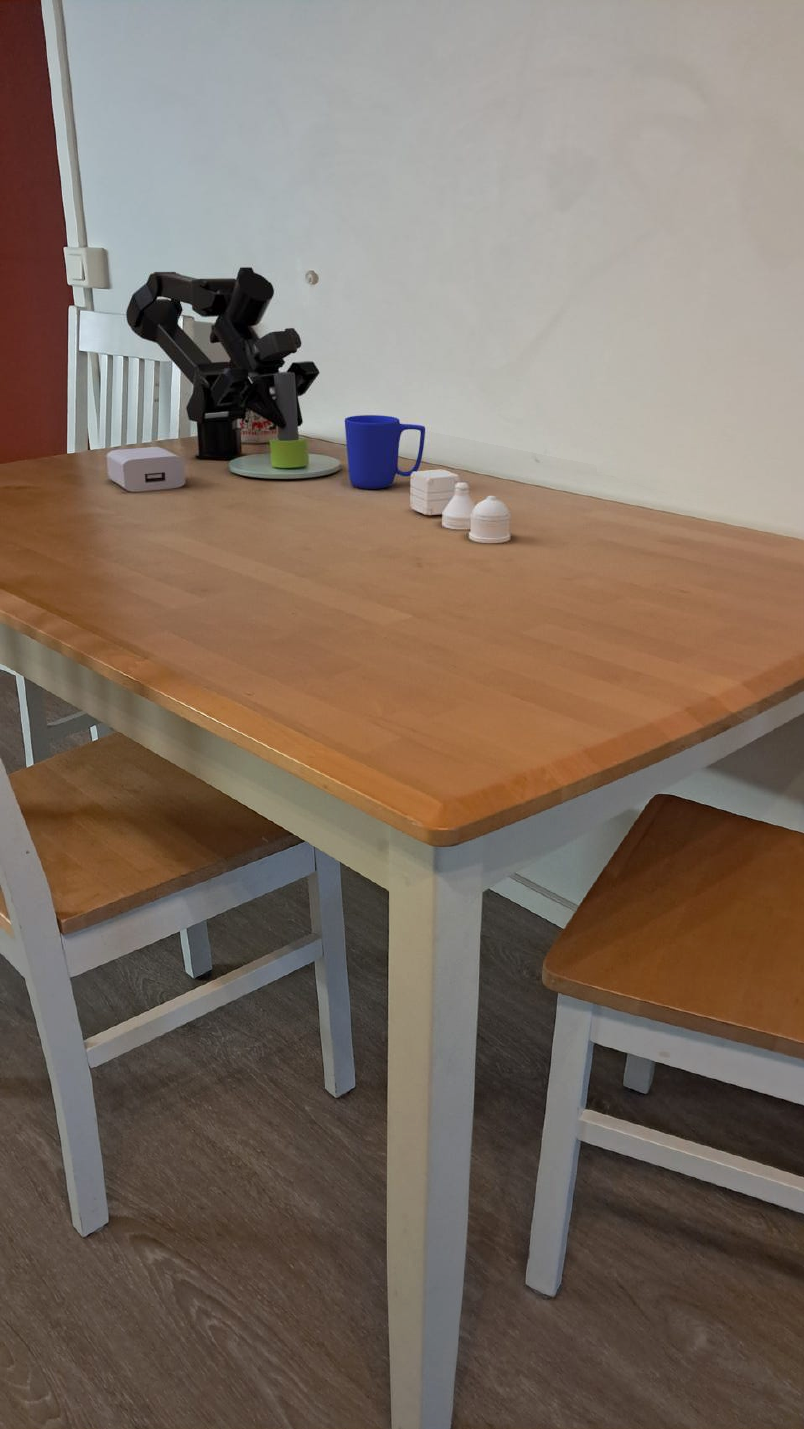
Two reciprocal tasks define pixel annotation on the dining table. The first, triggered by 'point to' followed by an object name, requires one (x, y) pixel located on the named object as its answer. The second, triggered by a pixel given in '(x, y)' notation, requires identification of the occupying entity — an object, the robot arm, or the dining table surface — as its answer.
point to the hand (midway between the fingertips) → (292, 425)
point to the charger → (145, 469)
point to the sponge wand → (288, 427)
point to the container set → (459, 506)
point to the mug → (376, 449)
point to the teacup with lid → (257, 427)
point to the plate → (262, 468)
